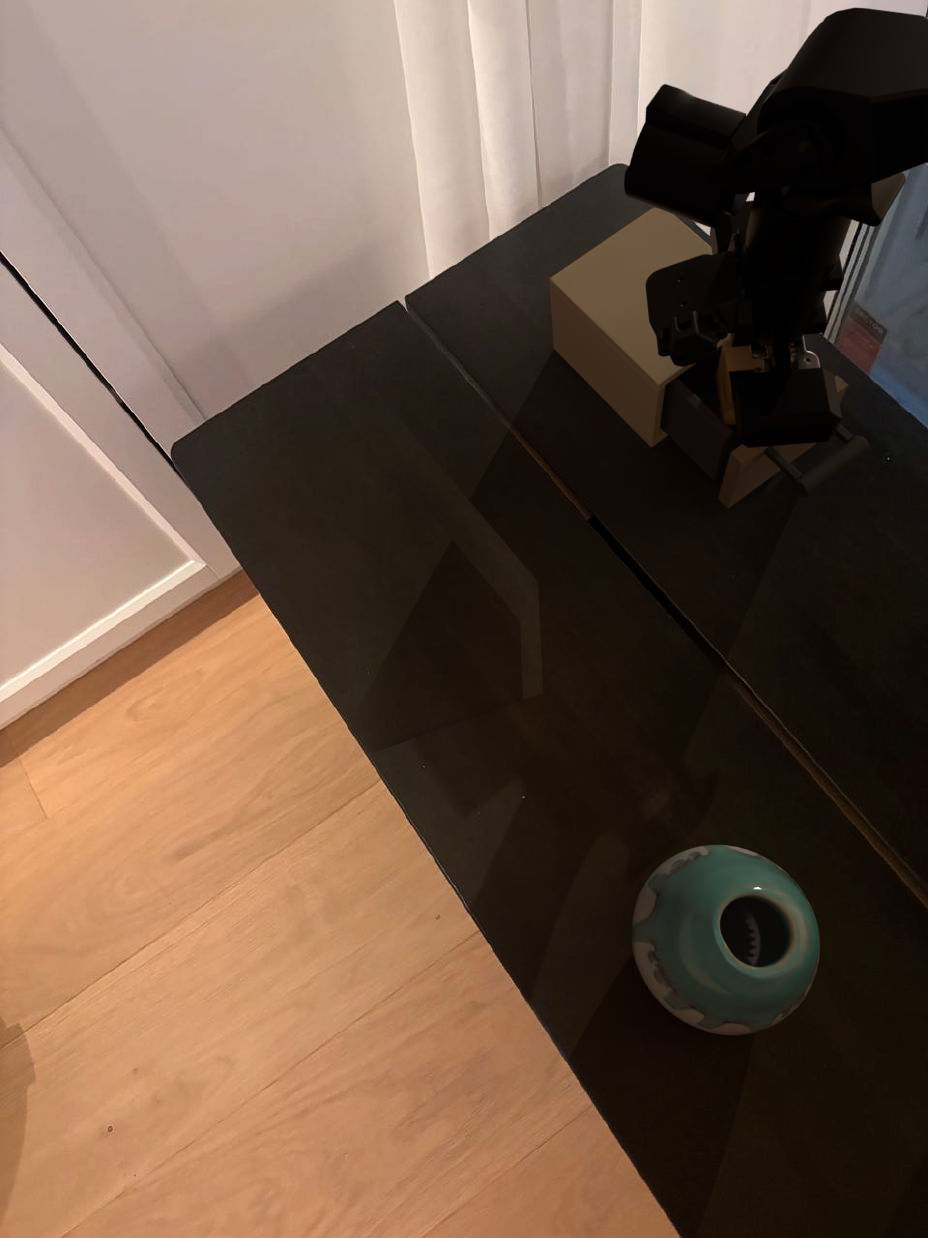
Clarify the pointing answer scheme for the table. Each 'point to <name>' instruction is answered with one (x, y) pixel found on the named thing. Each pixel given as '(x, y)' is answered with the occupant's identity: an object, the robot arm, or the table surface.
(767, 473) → the pull-out drawer box
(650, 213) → the beige drawer cabinet
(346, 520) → the table surface
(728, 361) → the block
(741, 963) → the vase
